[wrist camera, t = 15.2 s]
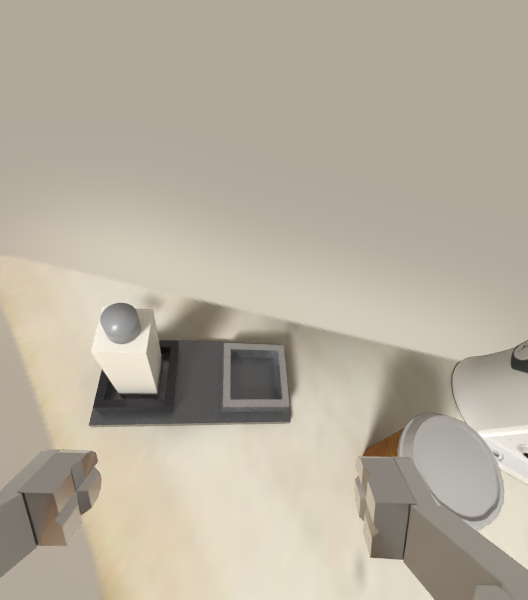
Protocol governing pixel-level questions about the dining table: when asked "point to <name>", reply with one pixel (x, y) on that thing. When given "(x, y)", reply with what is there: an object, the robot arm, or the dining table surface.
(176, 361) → the panel
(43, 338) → the dining table surface
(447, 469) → the disposable coffee cup
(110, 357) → the plug
